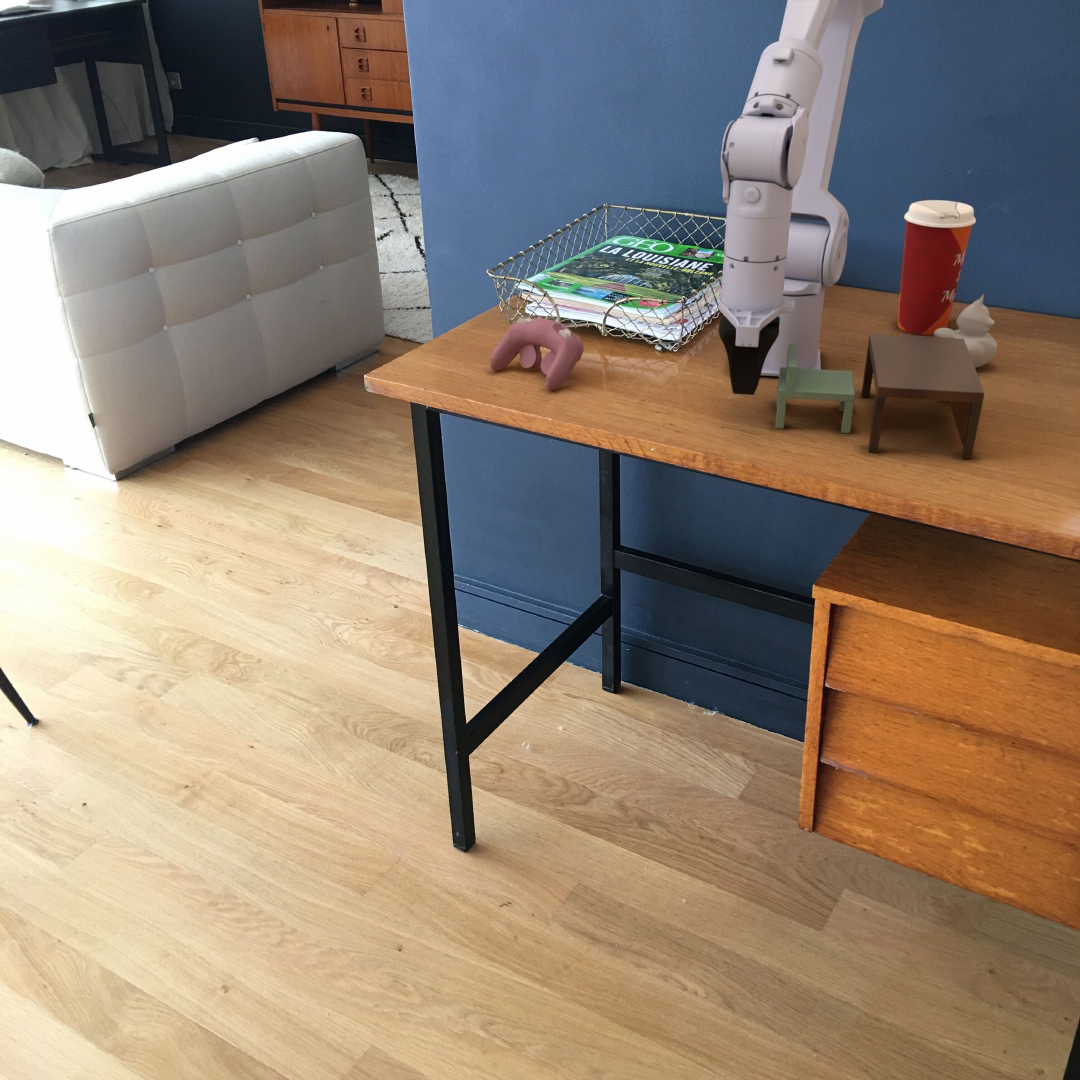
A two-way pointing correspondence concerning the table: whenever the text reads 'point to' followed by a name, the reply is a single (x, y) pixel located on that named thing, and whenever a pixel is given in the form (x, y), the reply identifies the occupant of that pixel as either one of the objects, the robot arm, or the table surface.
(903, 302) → the paper cup
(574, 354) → the video game controller
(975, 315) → the white sculpted figure
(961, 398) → the desk
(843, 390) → the green seat
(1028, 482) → the table surface
